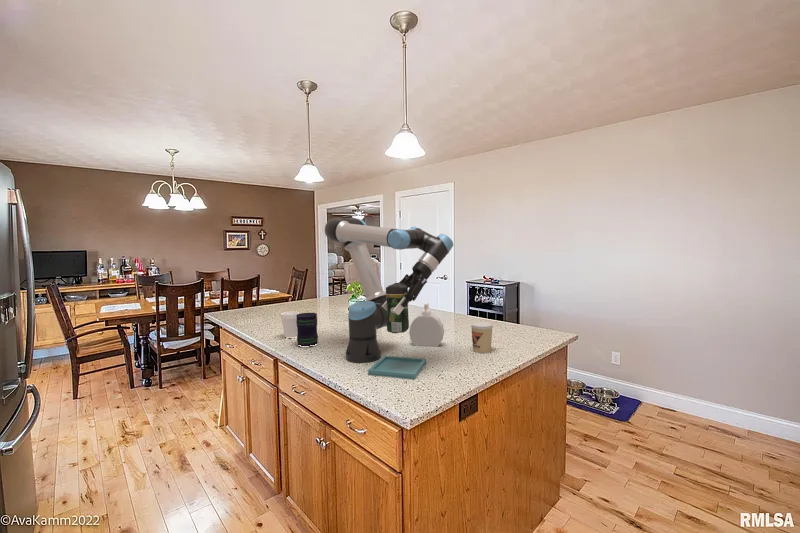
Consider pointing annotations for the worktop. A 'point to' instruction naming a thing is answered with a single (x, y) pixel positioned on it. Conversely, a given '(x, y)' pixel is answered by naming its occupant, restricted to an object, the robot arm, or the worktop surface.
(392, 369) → the tray
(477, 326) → the coffee cup
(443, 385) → the worktop surface
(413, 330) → the soap bottle
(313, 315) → the storage jar
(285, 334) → the foam cup
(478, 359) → the worktop surface
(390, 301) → the coffee jar
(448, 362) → the worktop surface
